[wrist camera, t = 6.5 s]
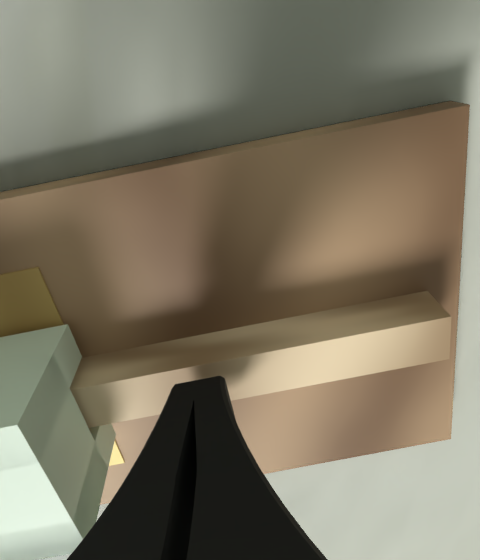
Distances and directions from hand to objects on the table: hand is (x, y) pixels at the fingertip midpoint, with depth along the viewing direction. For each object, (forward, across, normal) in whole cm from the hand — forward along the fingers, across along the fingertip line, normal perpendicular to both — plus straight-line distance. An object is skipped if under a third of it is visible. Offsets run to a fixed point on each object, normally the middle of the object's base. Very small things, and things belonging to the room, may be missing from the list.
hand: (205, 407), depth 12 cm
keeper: (+2, +6, 0) cm, 6 cm away
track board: (+3, +1, 0) cm, 4 cm away
